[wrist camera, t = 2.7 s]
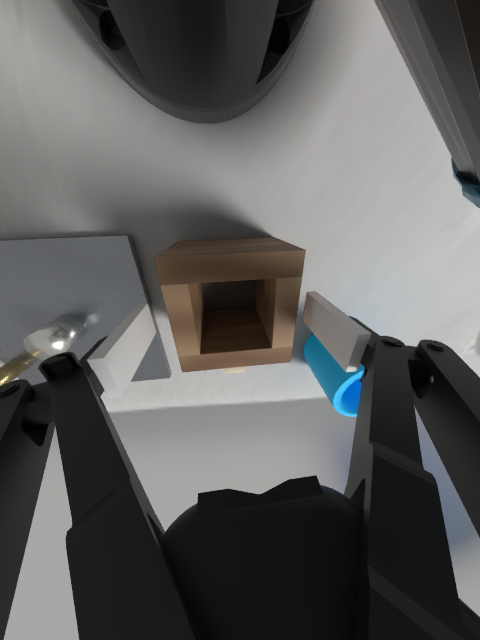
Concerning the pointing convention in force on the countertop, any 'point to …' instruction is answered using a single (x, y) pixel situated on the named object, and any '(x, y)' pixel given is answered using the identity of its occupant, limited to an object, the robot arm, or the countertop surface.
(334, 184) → the countertop surface
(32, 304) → the flange base
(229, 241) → the wooden square tube
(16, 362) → the dowel pin
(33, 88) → the countertop surface
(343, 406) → the mug
